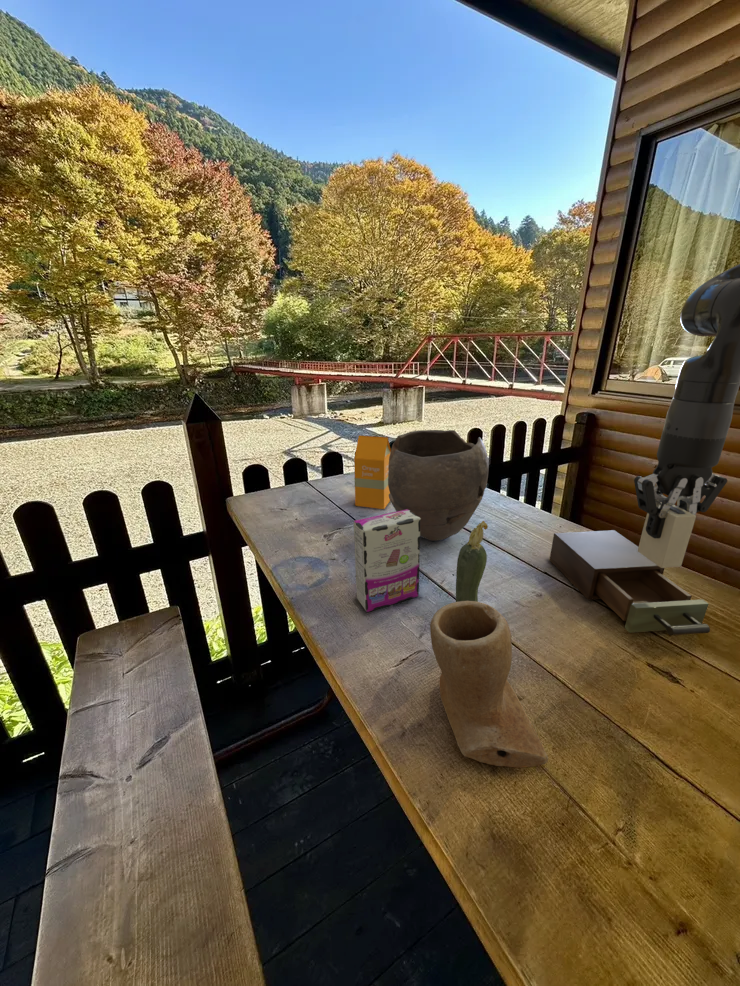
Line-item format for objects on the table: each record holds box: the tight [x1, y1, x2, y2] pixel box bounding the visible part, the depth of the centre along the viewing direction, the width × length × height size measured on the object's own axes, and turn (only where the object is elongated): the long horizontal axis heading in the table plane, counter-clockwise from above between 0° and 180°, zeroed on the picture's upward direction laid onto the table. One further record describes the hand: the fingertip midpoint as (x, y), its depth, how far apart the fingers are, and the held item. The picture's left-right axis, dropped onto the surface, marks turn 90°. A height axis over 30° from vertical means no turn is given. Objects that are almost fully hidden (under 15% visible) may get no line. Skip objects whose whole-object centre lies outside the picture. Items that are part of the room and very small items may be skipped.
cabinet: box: [549, 529, 666, 601], centre depth 82 cm, size 15×14×7 cm
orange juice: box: [353, 434, 391, 510], centre depth 117 cm, size 8×9×20 cm
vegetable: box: [455, 520, 489, 602], centre depth 65 cm, size 4×4×20 cm
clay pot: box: [388, 429, 490, 542], centre depth 96 cm, size 24×24×25 cm
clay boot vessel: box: [429, 601, 549, 769], centre depth 50 cm, size 15×12×15 cm
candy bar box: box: [353, 509, 421, 613], centre depth 74 cm, size 11×5×16 cm, turn 115°
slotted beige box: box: [638, 502, 697, 569], centre depth 66 cm, size 3×6×9 cm, turn 5°
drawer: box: [594, 570, 711, 636], centre depth 70 cm, size 18×12×5 cm
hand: (665, 535), depth 66 cm, fingers closed on slotted beige box, 3 cm apart
